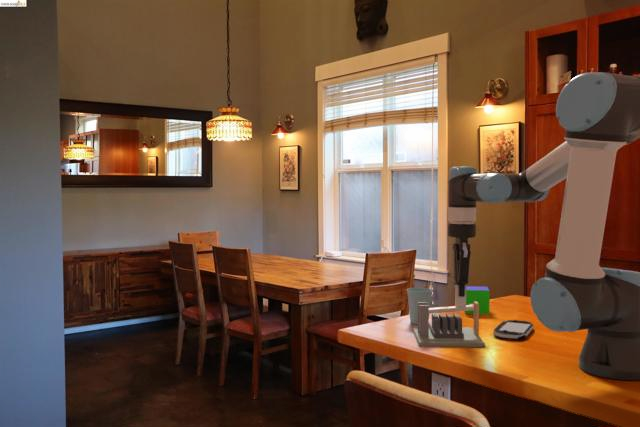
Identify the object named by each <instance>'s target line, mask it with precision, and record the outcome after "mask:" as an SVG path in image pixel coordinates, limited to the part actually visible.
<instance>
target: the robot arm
mask: <svg viewBox="0 0 640 427" xmlns="http://www.w3.org/2000/svg"><path fill="white" fill-rule="evenodd" d="M555 116H556V118H557V119H558V124H559V126H561V127H562V128H563V129H565V130H564V131H565V132H564V137H563V138H564V140H565V141H564V142H562V143H561V144H560V145H558V146H557V147H556V148H554V149H553V150H551V151H550V152H549V153H547V154H546V155H545V156H544V157H542V158H540V159H538V161H536V162H535V163H533V164H532V165H530V166H529V167H528V168H526V169H525V170H523V171H522V172H520V173H498V172H488V173H478V169H477V167H475V166H453V167H450V169H449V171H448V172H449V174H448V175H449V176H448V181H447V183H448V206H447V221H448V222H449V223H448V224H447V236H448V237H450V238H455V241H454V243H453V244H452V245H453V246H452V250H453V275H454V276H453V280H454V283H453V284H454V285H455V293H454V294H455V295H454V301H455V302H454V306H455V307H466V286H467V285H468V284H469V272H470V260H471V253H472V251H471V244H469V238H470V239H472V238H475V237H476V236H477V225H476V224H475V222H476V221H477V215H478V214H479V211H478V210H477V203H487V204H497V203H499V204H500V203H515V202H517V203H523V202H524V203H535V202H541V201H544V199H546V198H547V196H548V194H549V193H550V190H551V188H552V187H554V186H556V185H557V184H559V183H561V182H562V181H565V180H566V181H565V185H564V186H565V188H564V194H563V201H562V207H561V215H560V216H561V217H560V221H559V229H558V235H557V236H558V237H557V242H556V248H555V249H556V250H555V256H554V258H553V259H552V260H550V261H549V262H547V264H546V266H545V271H544V272H545V273H544V277H540V278H539V279H537V280H536V281H535V282H534V283H533V285H532V286H531V290H530V305H531V308H532V312H533V313H534V314H535V316H536V318H537V320H538V321H539V322H540V323H541V325H543V326H544V327H545V328H547V329H549V330H551V331H554V332H557V333H562V332H564V333H565V332H566V333H572V332H573V333H574V332H576V331H582V330H587V333H586V336H585V337H586V338H585V339H584V342H583V344H582V348H581V351H580V353H579V355H578V367H579V368H580V370H582V371H584V372H586V373H588V374H589V375H590V374H591V375H594V376H597V377H600V378H601V377H602V378H606V379H613V380H618V381H619V380H620V381H640V272H639V271H636V270H635V271H634V270H625V269H619V268H612V267H611V268H610V267H602V266H600V260H601V251H602V247H603V239H604V234H605V227H606V220H607V214H608V208H609V201H610V196H611V191H612V183H613V178H614V171H615V163H616V158H617V153H618V150H619V149H621V148H622V147H624V146H626V145H629V144H632V143H633V142H635V141H636V140H638V139H640V76H637V75H624V74H620V73H619V74H617V73H611V72H602V71H600V72H597V71H596V72H595V71H594V72H583V73H581V74H578V75H576V76H575V77H573V78H572V79H570V81H569V82H568V83H566V84H565V85H564V86H563V88H562V89H561V92H560V93H559V94H558V97H557V100H556V105H555Z"/></svg>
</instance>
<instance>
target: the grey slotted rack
mask: <svg viewBox="0 0 640 427" xmlns="http://www.w3.org/2000/svg"><path fill="white" fill-rule="evenodd" d="M469 305H473V306H474V314H473V328H472V327H469V326H466V327H465V326H463V319H462V317H461V316H460V315H459V314H458V313H453V314H451V313H445V314H444V313H431V326H429V323H430V321H429V319H430V313H429V306H428V305H427V303H426V302H418V324H417V326H412V331H413V335H414V337H415V338H416V339H415V340H416V341H417V345H418V346H419V347H445V348H446V347H451V348H452V347H453V348H455V347H459V348H461V347H462V348H463V347H465V348H485V346H486V344H485V342H484V340H483V339H482V338H481V337H480V329H479V328H480V324H479V323H480V314H479V303H478V302H477V301H474V304H469ZM437 314H438V315H437Z"/></svg>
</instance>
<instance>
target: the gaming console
mask: <svg viewBox="0 0 640 427" xmlns="http://www.w3.org/2000/svg"><path fill="white" fill-rule="evenodd" d="M533 330H534V323H533V324H532V322H531V321H526V320H519V319H518V320H517V319H507V320H504V321H502V322H501V323H499V324H498V325H497V326H496V327H495V328H494V329H492V331H493V332H492V334H493V335H494V337H495V338H496V337H497V338H496V339H499V338H500V340H506V341H507V340H508V341H522V340H525V339H527V337H528V336H529V335H530V333H531V332H532V331H533Z"/></svg>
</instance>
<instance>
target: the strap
mask: <svg viewBox="0 0 640 427" xmlns="http://www.w3.org/2000/svg"><path fill="white" fill-rule="evenodd" d="M471 310H474V306H473V305H466V307H455V305H452V306H437V307H436V306H435V307H430V308H429V314H444V313H454V312H464V311H471Z"/></svg>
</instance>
